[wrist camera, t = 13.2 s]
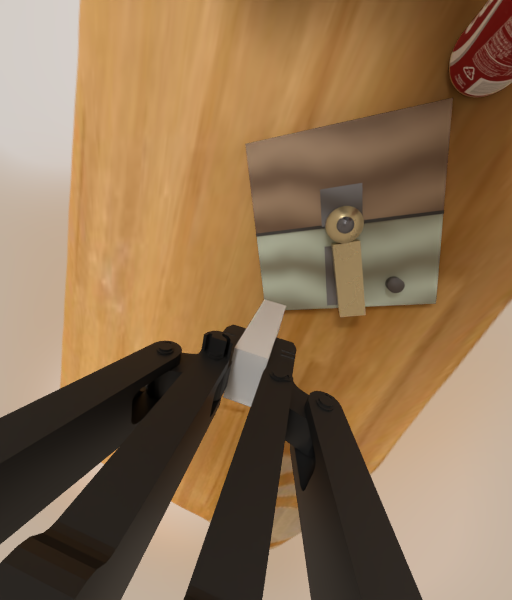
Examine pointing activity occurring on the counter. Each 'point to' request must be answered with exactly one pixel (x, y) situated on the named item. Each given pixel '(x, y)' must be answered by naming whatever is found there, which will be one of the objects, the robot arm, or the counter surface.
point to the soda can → (484, 52)
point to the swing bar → (347, 259)
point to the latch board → (353, 205)
